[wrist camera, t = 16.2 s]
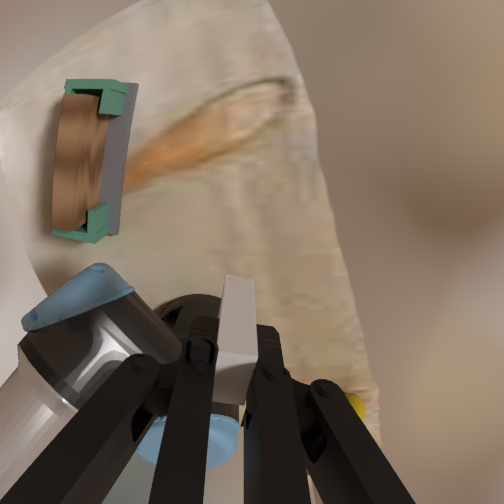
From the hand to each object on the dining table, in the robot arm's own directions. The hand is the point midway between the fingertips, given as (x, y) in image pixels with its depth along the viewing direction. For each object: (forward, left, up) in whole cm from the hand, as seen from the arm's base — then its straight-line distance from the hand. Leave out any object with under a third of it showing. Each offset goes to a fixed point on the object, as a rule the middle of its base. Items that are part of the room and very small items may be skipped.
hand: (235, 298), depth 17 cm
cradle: (+3, +21, -26) cm, 34 cm away
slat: (+3, +21, -25) cm, 33 cm away
